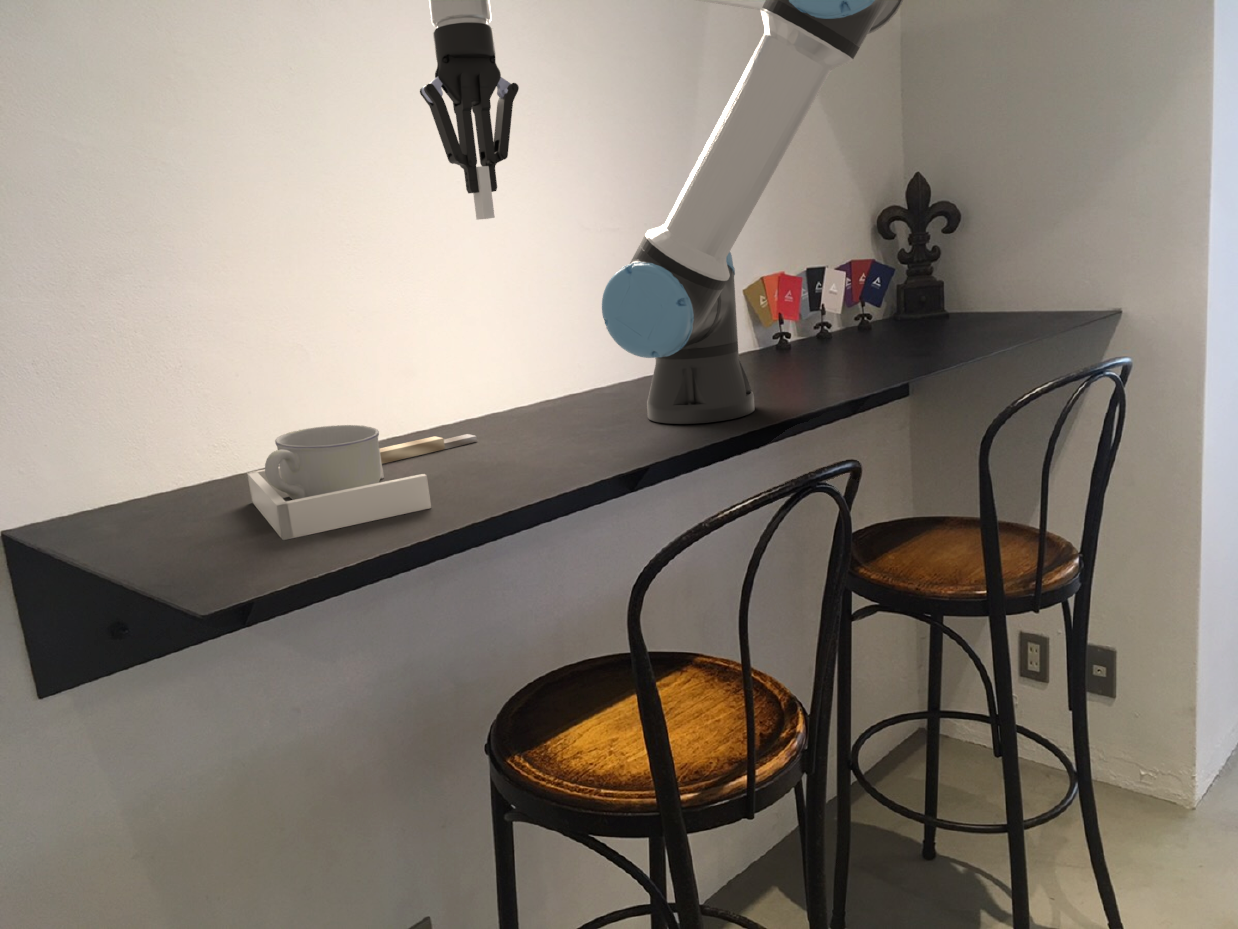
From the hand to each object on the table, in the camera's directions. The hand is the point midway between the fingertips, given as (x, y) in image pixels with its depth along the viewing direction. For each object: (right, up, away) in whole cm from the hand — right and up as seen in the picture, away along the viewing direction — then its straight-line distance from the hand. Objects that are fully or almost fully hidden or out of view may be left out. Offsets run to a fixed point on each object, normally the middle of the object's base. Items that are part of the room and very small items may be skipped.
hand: (485, 218), depth 128 cm
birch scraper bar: (-11, -32, -1) cm, 34 cm away
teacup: (-14, -37, -22) cm, 46 cm away
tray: (-13, -37, -22) cm, 45 cm away
